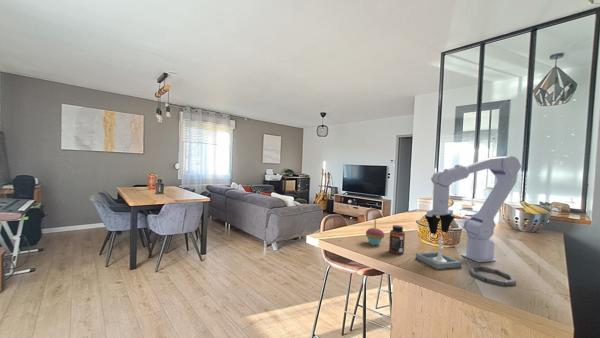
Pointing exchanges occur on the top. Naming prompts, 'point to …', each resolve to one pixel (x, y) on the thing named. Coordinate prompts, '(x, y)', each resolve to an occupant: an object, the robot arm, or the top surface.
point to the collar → (490, 280)
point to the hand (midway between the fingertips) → (438, 232)
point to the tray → (428, 260)
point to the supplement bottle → (397, 240)
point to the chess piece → (439, 252)
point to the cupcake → (374, 235)
